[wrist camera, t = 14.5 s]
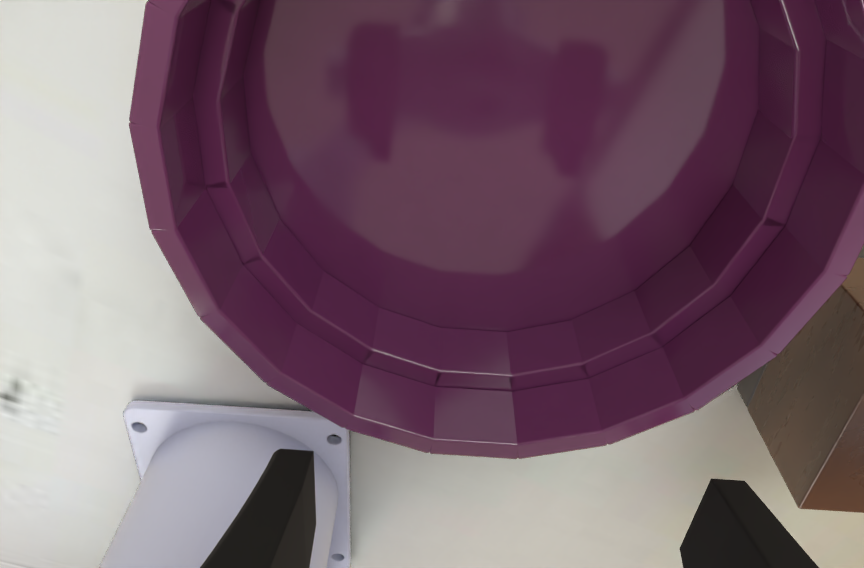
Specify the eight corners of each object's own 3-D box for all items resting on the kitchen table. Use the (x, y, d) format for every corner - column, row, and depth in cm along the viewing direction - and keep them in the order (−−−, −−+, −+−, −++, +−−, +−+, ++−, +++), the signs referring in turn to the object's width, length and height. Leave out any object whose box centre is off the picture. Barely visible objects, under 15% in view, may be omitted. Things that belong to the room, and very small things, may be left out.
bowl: (697, 356, 22) (753, 475, 18) (240, 326, 22) (190, 439, 18) (903, -211, 14) (1098, -235, 10) (166, -265, 14) (40, -312, 9)
